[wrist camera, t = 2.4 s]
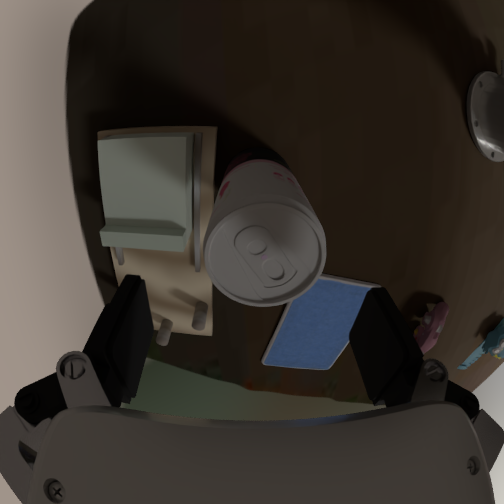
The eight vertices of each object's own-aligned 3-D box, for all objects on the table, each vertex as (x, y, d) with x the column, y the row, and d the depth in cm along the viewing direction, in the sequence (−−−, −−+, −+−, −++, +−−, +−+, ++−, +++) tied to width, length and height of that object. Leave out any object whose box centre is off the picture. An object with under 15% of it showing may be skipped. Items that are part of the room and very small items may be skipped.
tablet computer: (327, 365, 44) (328, 371, 43) (259, 360, 42) (259, 366, 41) (382, 282, 34) (385, 288, 33) (299, 266, 33) (301, 272, 32)
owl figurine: (479, 390, 45) (458, 391, 42) (468, 368, 52) (446, 365, 49) (546, 316, 32) (539, 303, 29) (530, 295, 39) (519, 280, 36)
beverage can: (247, 219, 29) (246, 323, 16) (212, 169, 26) (174, 244, 13) (301, 188, 27) (347, 276, 14) (268, 134, 24) (291, 173, 11)
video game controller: (428, 293, 37) (432, 319, 32) (449, 301, 36) (455, 327, 30) (404, 334, 42) (403, 361, 37) (423, 341, 41) (424, 368, 35)
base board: (102, 130, 23) (79, 137, 19) (217, 126, 24) (210, 131, 20) (131, 320, 37) (122, 343, 33) (212, 329, 38) (209, 355, 34)
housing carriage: (113, 135, 22) (89, 143, 18) (194, 132, 23) (182, 138, 19) (120, 225, 27) (102, 245, 23) (192, 229, 28) (183, 252, 24)
